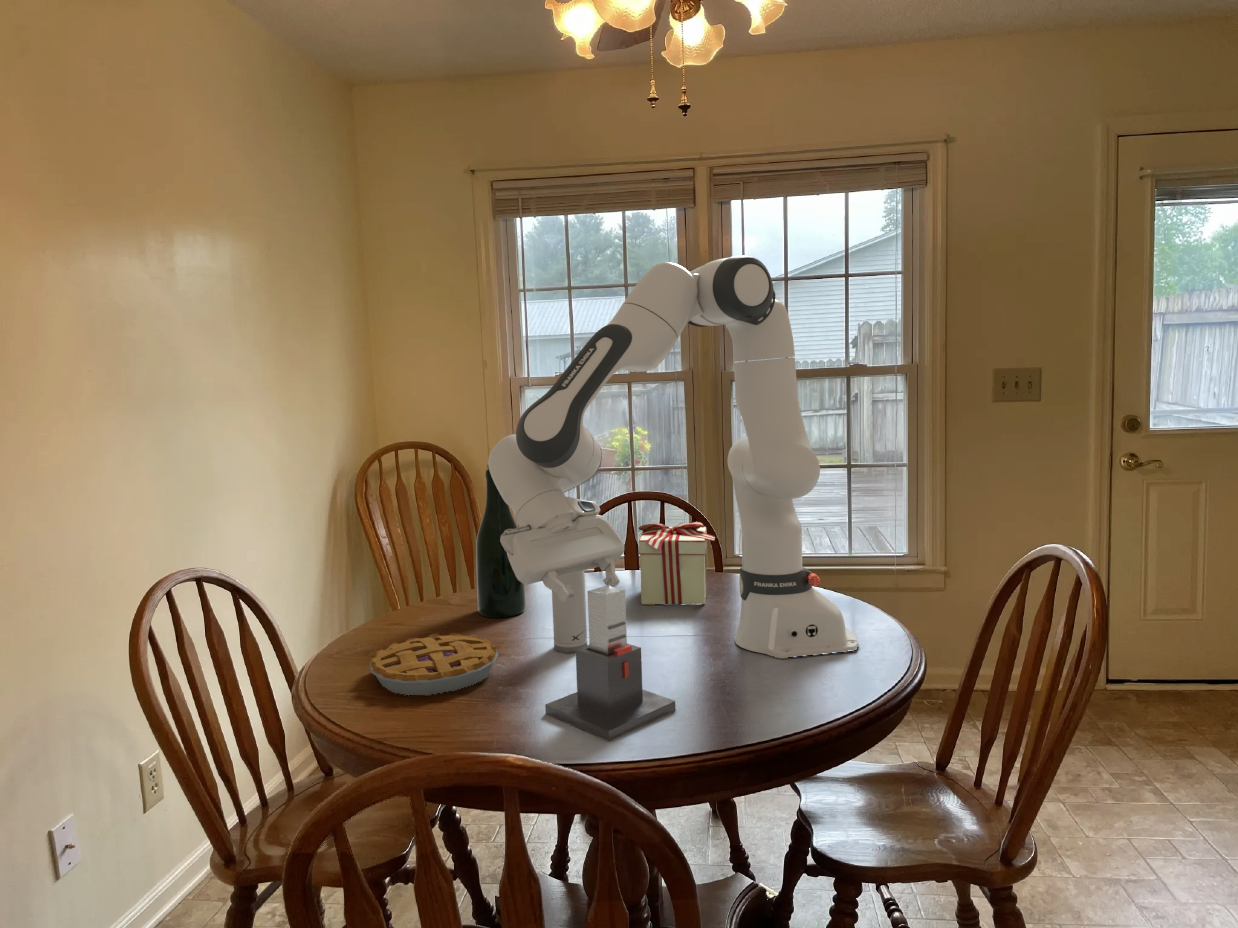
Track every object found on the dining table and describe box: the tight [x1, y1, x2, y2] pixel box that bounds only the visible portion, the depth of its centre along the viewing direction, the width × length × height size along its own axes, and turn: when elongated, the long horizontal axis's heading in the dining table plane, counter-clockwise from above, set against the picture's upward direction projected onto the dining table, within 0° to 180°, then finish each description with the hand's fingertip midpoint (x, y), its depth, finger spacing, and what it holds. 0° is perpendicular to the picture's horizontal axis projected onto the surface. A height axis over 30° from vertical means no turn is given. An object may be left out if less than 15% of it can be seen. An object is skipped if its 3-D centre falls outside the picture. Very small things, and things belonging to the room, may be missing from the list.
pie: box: [369, 632, 499, 697], centre depth 142 cm, size 22×22×5 cm
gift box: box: [638, 521, 716, 606], centre depth 184 cm, size 17×18×17 cm
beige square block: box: [587, 585, 628, 657], centre depth 123 cm, size 4×4×17 cm
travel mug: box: [551, 570, 588, 654], centre depth 153 cm, size 6×7×20 cm
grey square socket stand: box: [544, 643, 677, 742], centre depth 123 cm, size 14×14×11 cm
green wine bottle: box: [475, 463, 527, 619], centre depth 177 cm, size 10×10×33 cm
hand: (592, 591), depth 124 cm, fingers open, 8 cm apart
